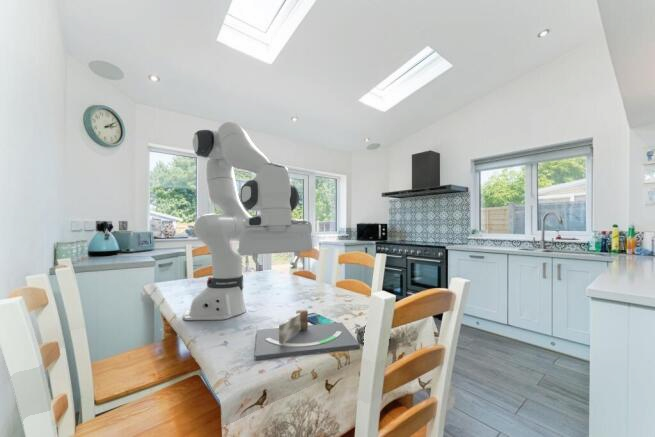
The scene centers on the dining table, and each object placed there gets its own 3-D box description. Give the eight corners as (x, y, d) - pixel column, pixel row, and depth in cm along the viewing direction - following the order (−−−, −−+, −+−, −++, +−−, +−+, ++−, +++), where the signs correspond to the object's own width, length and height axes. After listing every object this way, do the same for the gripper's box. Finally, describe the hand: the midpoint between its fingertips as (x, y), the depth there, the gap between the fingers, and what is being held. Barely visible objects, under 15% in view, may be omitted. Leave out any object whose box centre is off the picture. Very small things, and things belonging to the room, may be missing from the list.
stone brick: (299, 324, 90) (299, 309, 90) (309, 326, 88) (309, 310, 89) (274, 342, 76) (274, 324, 76) (286, 344, 75) (286, 326, 75)
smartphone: (314, 312, 107) (338, 322, 95) (314, 314, 107) (338, 325, 95) (298, 315, 103) (321, 327, 91) (298, 318, 103) (321, 329, 91)
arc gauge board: (255, 359, 70) (255, 354, 70) (257, 333, 87) (257, 329, 87) (359, 348, 76) (359, 343, 76) (341, 325, 93) (341, 321, 94)
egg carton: (372, 349, 76) (371, 334, 76) (352, 341, 81) (352, 327, 81) (394, 338, 83) (394, 324, 83) (375, 331, 88) (374, 318, 89)
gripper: (308, 220, 83) (310, 266, 83) (238, 221, 77) (238, 271, 76) (314, 218, 78) (316, 268, 77) (238, 219, 71) (239, 273, 70)
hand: (276, 269), depth 76 cm, fingers open, 8 cm apart
